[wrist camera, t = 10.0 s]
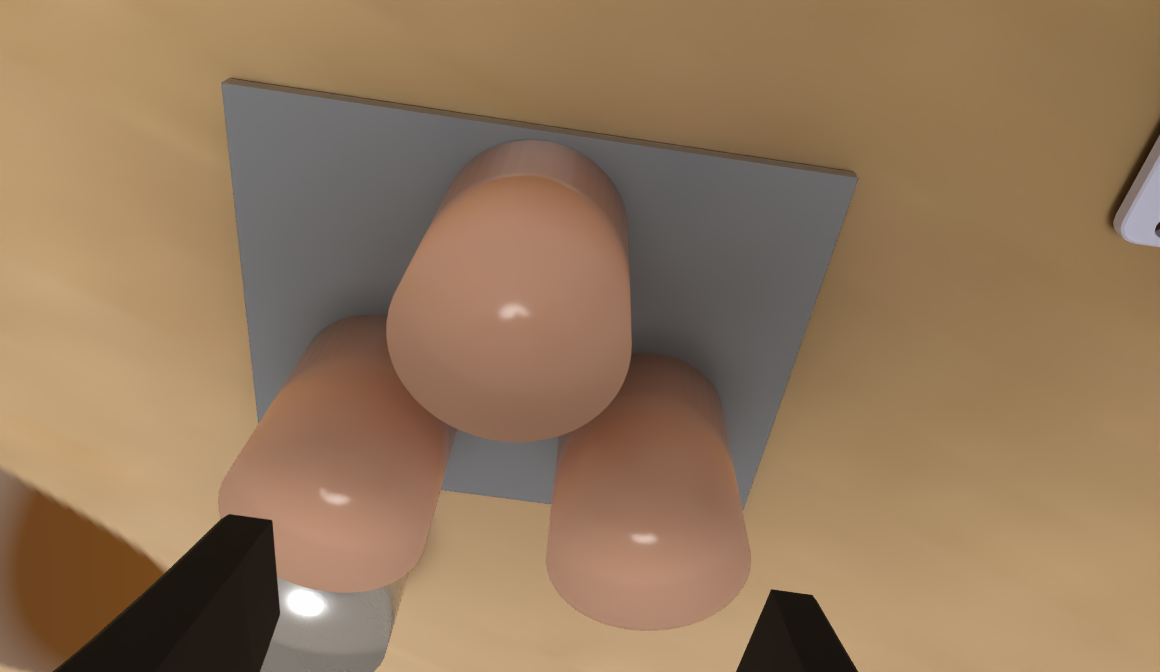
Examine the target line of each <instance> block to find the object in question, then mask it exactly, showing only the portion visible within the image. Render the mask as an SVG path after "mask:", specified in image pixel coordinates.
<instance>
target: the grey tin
mask: <svg viewBox="0 0 1160 672" xmlns="http://www.w3.org/2000/svg"><path fill="white" fill-rule="evenodd" d="M408 574H409V572H408V573H407V574H406V575H405V576H403V577H402V578H400V579H398V580H397V581H395V582H393V583H391V584H389V585H386V586H383V587H380V588H377V589H373V590H368V591H363V592H353V593H338V592H326V591H320V590H314V589H310V588H306V587H303V586H299V585H297V584H294V583H291V582H288V581H286V580H284V579H281V578H279V577H277V581H278V593H279V605H280V616H279V619H278V622H277V625H276V628H275V631H274V634H273V637H272V640H271V642H270V645H269V648H268V651H267V654H266V657H265V659H264V662H263V665H262V668H261V670H260V672H374V671H375V670H376V669H377V668H378V666H379V665H380V664H381V662H382V660H383V659H384V656H385V653H386V650H387V646H388V643H389V639H390V636H391V633H392V629H393V626H394V622H395V619H396V615H397V612H398V609H399V605H400V602H401V598H402V595H403V591H404V588H405V585H406V581H407V578H408Z"/></svg>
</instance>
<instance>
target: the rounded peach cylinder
mask: <svg viewBox="0 0 1160 672" xmlns="http://www.w3.org/2000/svg"><path fill="white" fill-rule="evenodd" d="M386 338H387V345H388V351H389V354H390V357H391V361H392V364H393V366H394V368H395V370H396V372H397V375H398V376H399V378H400V380H401V381H402V383H403V384H404V386H405V388H406V389H407V390H408V391H409V392H410V394H411V395H412V396H413V397H414V399H415V400H417V401H418V402H419V403H420V404H421V405H422V406H423V407H424V408H425V409H426V410H427V411H429V412H430V413H431V414H433V415H434V416H435V417H437V418H438V419H440V420H442V421H443V422H445V423H447V424H448V425H450V426H452V427H454V428H456V429H459V430H461V431H463V432H466V433H469V434H471V435H474V436H478V437H482V438H486V439H490V440H497V441H504V442H532V441H540V440H545V439H550V438H554V437H557V436H561V435H564V434H566V433H569V432H571V431H574V430H576V429H578V428H579V427H581V426H583V425H585V424H587V423H588V422H590V421H591V420H592V419H594V418H595V417H596V416H598V415H599V414H600V413H601V412H602V411H603V410H604V409H605V408H606V407H607V406H608V405H609V404H610V403H611V402H612V400H613V399H614V398H615V396H616V395H617V394H618V392H619V390H620V388H621V387H622V385H623V383H624V380H625V378H626V375H627V372H628V369H629V364H630V360H631V348H632V337H631V303H630V268H629V233H628V219H627V214H626V210H625V206H624V203H623V201H622V198H621V196H620V194H619V192H618V190H617V188H616V186H615V185H614V183H613V182H612V181H611V179H610V178H609V177H608V175H607V174H606V173H605V172H604V171H603V170H602V169H601V168H600V167H599V166H598V165H597V164H596V163H594V162H593V161H592V160H590V159H589V158H588V157H586V156H585V155H583V154H581V153H580V152H578V151H576V150H574V149H571V148H569V147H567V146H564V145H561V144H557V143H554V142H549V141H542V140H518V141H511V142H507V143H503V144H499V145H497V146H494V147H492V148H489V149H487V150H485V151H484V152H482V153H480V154H478V155H477V156H476V157H474V158H473V159H472V160H470V161H469V162H468V163H467V164H466V165H465V166H464V167H463V168H462V169H461V170H460V171H459V172H458V174H457V175H456V176H455V178H454V179H453V181H452V183H451V185H450V186H449V188H448V190H447V192H446V194H445V196H444V198H443V200H442V202H441V204H440V206H439V208H438V210H437V212H436V214H435V216H434V218H433V219H432V221H431V223H430V225H429V227H428V229H427V231H426V233H425V235H424V237H423V239H422V241H421V243H420V245H419V247H418V249H417V251H416V253H415V255H414V257H413V258H412V260H411V262H410V264H409V266H408V268H407V270H406V272H405V274H404V276H403V278H402V280H401V282H400V284H399V286H398V288H397V290H396V292H395V294H394V296H393V298H392V301H391V304H390V307H389V311H388V317H387V322H386Z"/></svg>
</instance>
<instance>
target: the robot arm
mask: <svg viewBox="0 0 1160 672" xmlns="http://www.w3.org/2000/svg"><path fill="white" fill-rule="evenodd" d="M1159 222H1160V135H1159V137H1158V139H1157V141H1156V143H1155V144H1154V146H1153V148H1152V150H1151V152H1150V154H1149V155H1148V157H1147V159H1146V161H1145V163H1144V164H1143V166H1142V168H1141V170H1140V172H1139V174H1138V175H1137V177H1136V179H1135V181H1134V183H1133V184H1132V186H1131V188H1130V190H1129V192H1128V194H1127V195H1126V197H1125V199H1124V201H1123V203H1122V204H1121V206H1120V208H1119V210H1118V212H1117V214H1116V216H1115V219H1114V222H1113V224H1114V230H1115V231H1116V232H1117V234H1118V235H1119V236H1121V237H1122V238H1123V239H1125V240H1126V241H1128V242H1131V243H1134V244H1141V245H1148V246H1154V247H1160V229H1159V230H1155V228H1156V225H1157V224H1158V223H1159ZM279 616H280V605H279V593H278V581H277V570H276V558H275V546H274V534H273V522H272V520H269V519H262V518H254V517H247V516H240V515H233V514H228V515H227V516H225V517H223V518H222V519H221V520H220V521H219V522H218V523H217V524H216V525H215V526H213V527H212V528H211V529H210V530H209V531H208V532H207V533H206V534H205V535H204V536H203V537H202V538H201V539H200V540H199V541H198V542H197V543H196V544H195V545H194V546H193V547H192V548H191V549H190V550H189V551H188V552H187V553H186V554H185V555H184V556H183V557H181V558H180V559H179V560H178V561H177V562H176V563H175V564H174V565H173V566H172V567H171V568H170V569H169V570H168V571H167V572H166V573H165V574H164V575H162V576H161V577H160V578H159V579H158V580H157V581H156V582H155V583H154V584H153V585H152V586H151V587H150V588H148V589H147V590H146V591H145V592H144V593H143V594H142V595H141V596H140V597H139V598H138V599H137V600H135V601H134V602H133V603H132V604H131V605H130V606H129V607H127V608H126V609H125V610H124V611H123V612H122V613H121V614H120V615H118V616H117V617H116V618H115V619H114V620H113V621H112V622H111V623H110V624H108V625H107V626H106V627H105V628H104V629H103V630H102V631H100V632H99V633H98V634H97V635H96V636H95V637H94V638H93V639H91V640H90V641H89V642H88V643H87V644H86V645H85V646H84V647H82V648H81V649H80V650H79V651H78V652H76V653H75V654H74V655H73V656H71V657H70V658H69V659H68V660H66V661H65V662H64V663H63V664H62V665H60V666H59V667H58V668H57V669H56V670H54V671H53V672H260V670H261V668H262V665H263V662H264V659H265V657H266V654H267V651H268V648H269V645H270V642H271V640H272V637H273V634H274V631H275V628H276V625H277V622H278V619H279ZM736 672H858V671H857V669H856V667H855V666H854V664H853V662H852V661H851V659H850V657H849V655H848V654H847V652H846V650H845V649H844V647H843V645H842V644H841V642H840V640H839V638H838V637H837V635H836V633H835V632H834V630H833V628H832V626H831V625H830V623H829V621H828V619H827V618H826V616H825V614H824V613H823V611H822V609H821V607H820V606H819V604H818V602H817V601H816V599H815V598H814V597H813V595H808V594H800V593H793V592H786V591H779V590H772V589H771V592H770V594H769V596H768V599H767V601H766V603H765V606H764V608H763V610H762V613H761V615H760V617H759V620H758V622H757V624H756V627H755V629H754V631H753V634H752V636H751V638H750V641H749V643H748V645H747V648H746V650H745V652H744V655H743V657H742V659H741V662H740V664H739V666H738V669H737V671H736Z"/></svg>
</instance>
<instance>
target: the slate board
mask: <svg viewBox="0 0 1160 672" xmlns="http://www.w3.org/2000/svg"><path fill="white" fill-rule="evenodd" d="M221 84H222V93H223V102H224V112H225V121H226V130H227V139H228V149H229V158H230V167H231V176H232V185H233V195H234V204H235V213H236V222H237V232H238V241H239V250H240V259H241V268H242V278H243V287H244V296H245V305H246V315H247V324H248V333H249V342H250V351H251V361H252V370H253V379H254V388H255V397H256V407H257V416H258V424H259V422H260V421H261V419H262V418H263V416H264V414H265V413H266V411H267V410H268V408H269V407H270V405H271V403H272V402H273V400H274V399H275V397H276V395H277V394H278V392H279V391H280V389H281V388H282V386H283V384H284V383H285V381H286V380H287V378H288V377H289V375H290V373H291V372H292V370H293V369H294V367H295V365H296V364H297V362H298V361H299V359H300V358H301V356H302V354H303V353H304V351H305V350H306V348H307V347H308V345H309V343H310V342H311V341H312V339H313V338H314V337H315V336H316V335H317V334H318V333H319V332H320V331H321V330H323V329H324V328H326V327H327V326H329V325H330V324H332V323H335V322H337V321H339V320H342V319H345V318H349V317H354V316H361V315H378V316H387V317H388V311H389V307H390V304H391V301H392V298H393V296H394V294H395V292H396V290H397V288H398V286H399V284H400V282H401V280H402V278H403V276H404V274H405V272H406V270H407V268H408V266H409V264H410V262H411V260H412V258H413V257H414V255H415V253H416V251H417V249H418V247H419V245H420V243H421V241H422V239H423V237H424V235H425V233H426V231H427V229H428V227H429V225H430V223H431V221H432V219H433V218H434V216H435V214H436V212H437V210H438V208H439V206H440V204H441V202H442V200H443V198H444V196H445V194H446V192H447V190H448V188H449V186H450V185H451V183H452V181H453V179H454V178H455V176H456V175H457V174H458V172H459V171H460V170H461V169H462V168H463V167H464V166H465V165H466V164H467V163H468V162H469V161H470V160H472V159H473V158H474V157H476V156H477V155H478V154H480V153H482V152H484V151H485V150H487V149H489V148H492V147H494V146H497V145H499V144H503V143H507V142H511V141H518V140H542V141H549V142H554V143H557V144H561V145H564V146H567V147H569V148H571V149H574V150H576V151H578V152H580V153H581V154H583V155H585V156H586V157H588V158H589V159H590V160H592V161H593V162H594V163H596V164H597V165H598V166H599V167H600V168H601V169H602V170H603V171H604V172H605V173H606V174H607V175H608V177H609V178H610V179H611V181H612V182H613V183H614V185H615V186H616V188H617V190H618V192H619V194H620V196H621V198H622V201H623V203H624V206H625V210H626V214H627V219H628V233H629V268H630V303H631V337H632V348H631V354H634V353H650V354H659V355H664V356H669V357H672V358H675V359H678V360H681V361H683V362H685V363H687V364H689V365H691V366H692V367H694V368H695V369H697V370H698V371H700V372H701V373H702V374H703V375H704V376H705V377H706V378H707V379H708V380H709V381H710V382H711V383H712V385H713V386H714V388H715V389H716V391H717V393H718V395H719V397H720V400H721V403H722V406H723V412H724V417H725V422H726V427H727V433H728V438H729V443H730V448H731V453H732V459H733V464H734V469H735V474H736V480H737V485H738V490H739V495H740V501H741V506H742V511H743V509H744V506H745V503H746V500H747V497H748V495H749V492H750V489H751V486H752V483H753V480H754V477H755V474H756V472H757V469H758V466H759V463H760V460H761V457H762V454H763V451H764V449H765V446H766V443H767V440H768V437H769V434H770V431H771V428H772V426H773V423H774V420H775V417H776V414H777V411H778V408H779V405H780V403H781V400H782V397H783V394H784V391H785V388H786V385H787V382H788V380H789V377H790V374H791V371H792V368H793V365H794V362H795V359H796V357H797V354H798V351H799V348H800V345H801V342H802V339H803V336H804V334H805V331H806V328H807V325H808V322H809V319H810V316H811V313H812V311H813V308H814V305H815V302H816V299H817V296H818V293H819V290H820V288H821V285H822V282H823V279H824V276H825V273H826V270H827V267H828V265H829V262H830V259H831V256H832V253H833V250H834V247H835V244H836V242H837V239H838V236H839V233H840V230H841V227H842V224H843V221H844V219H845V216H846V213H847V210H848V207H849V204H850V201H851V198H852V196H853V193H854V190H855V187H856V184H857V181H858V177H857V175H856V174H855V173H854V172H851V171H845V170H838V169H831V168H825V167H818V166H811V165H805V164H798V163H791V162H785V161H778V160H771V159H765V158H758V157H751V156H745V155H738V154H731V153H725V152H718V151H711V150H705V149H698V148H691V147H684V146H678V145H671V144H664V143H658V142H651V141H644V140H638V139H631V138H624V137H618V136H611V135H604V134H598V133H591V132H584V131H578V130H571V129H564V128H558V127H551V126H544V125H538V124H531V123H524V122H518V121H511V120H504V119H498V118H491V117H484V116H478V115H471V114H464V113H458V112H451V111H444V110H438V109H431V108H424V107H418V106H411V105H404V104H398V103H391V102H384V101H378V100H371V99H364V98H358V97H351V96H344V95H338V94H331V93H324V92H318V91H311V90H304V89H298V88H291V87H284V86H278V85H271V84H264V83H258V82H251V81H244V80H238V79H231V78H229V79H227V80H225V81H224V82H222V83H221ZM558 437H559V436H557V437H554V438H550V439H545V440H540V441H532V442H504V441H497V440H490V439H486V438H482V437H478V436H474V435H471V434H469V433H466V432H463V431H461V430H459V429H457V433H456V437H455V440H454V444H453V447H452V451H451V455H450V458H449V462H448V465H447V469H446V472H445V476H444V480H443V483H442V487H441V490H446V491H454V492H462V493H469V494H477V495H484V496H492V497H500V498H507V499H515V500H523V501H530V502H538V503H545V504H552V496H553V486H554V476H555V467H556V457H557V447H558Z"/></svg>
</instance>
